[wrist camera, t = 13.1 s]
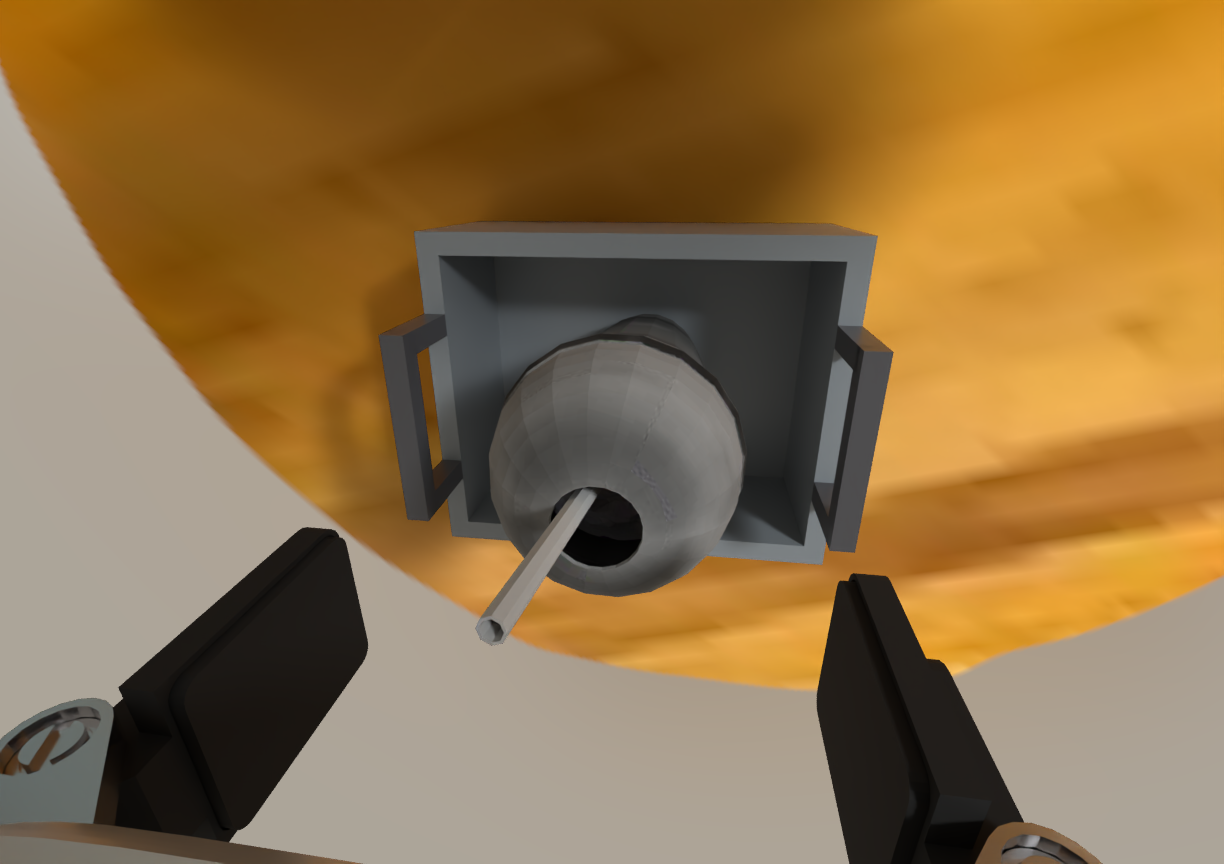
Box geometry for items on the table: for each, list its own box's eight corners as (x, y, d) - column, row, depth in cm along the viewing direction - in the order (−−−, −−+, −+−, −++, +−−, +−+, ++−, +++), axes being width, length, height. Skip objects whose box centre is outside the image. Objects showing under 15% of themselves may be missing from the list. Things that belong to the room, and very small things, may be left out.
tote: (831, 223, 25) (913, 245, 15) (795, 483, 30) (841, 622, 20) (481, 221, 27) (363, 239, 17) (501, 465, 32) (418, 584, 22)
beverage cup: (642, 462, 29) (550, 902, 11) (540, 355, 28) (234, 644, 9) (759, 369, 27) (905, 730, 8) (654, 247, 25) (543, 347, 7)
